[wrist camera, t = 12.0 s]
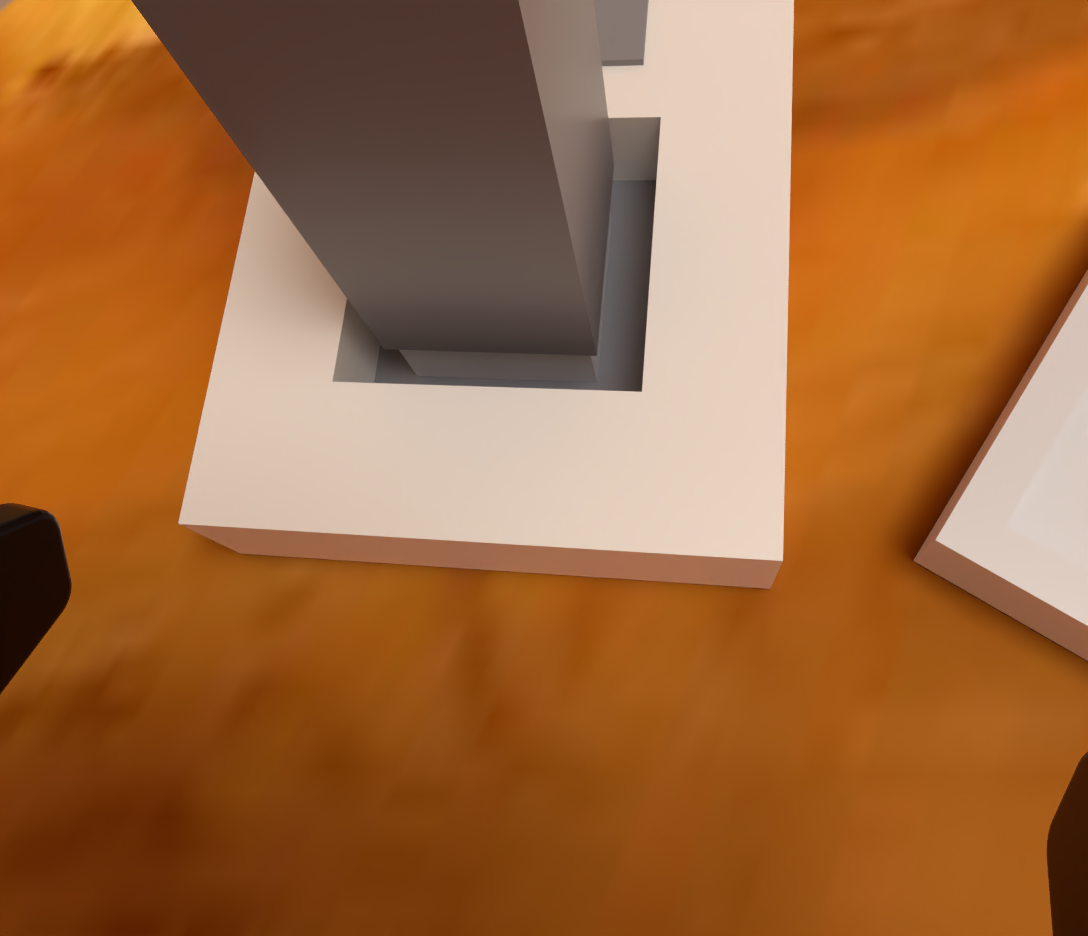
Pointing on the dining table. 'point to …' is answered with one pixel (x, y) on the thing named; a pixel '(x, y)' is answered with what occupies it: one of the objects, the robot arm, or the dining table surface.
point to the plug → (427, 163)
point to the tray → (1029, 496)
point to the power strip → (540, 405)
